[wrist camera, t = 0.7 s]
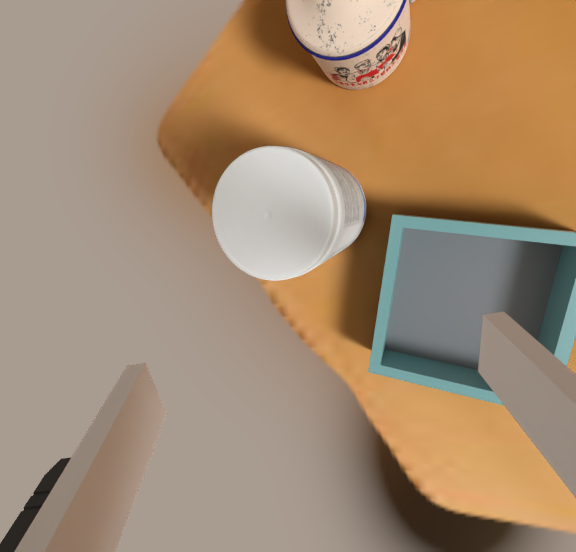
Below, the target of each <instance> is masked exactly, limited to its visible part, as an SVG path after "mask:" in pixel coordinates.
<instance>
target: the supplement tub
mask: <svg viewBox="0 0 576 552" xmlns="http://www.w3.org/2000/svg"><path fill="white" fill-rule="evenodd" d="M365 218H366V199H365V195H364V192H363V190H362V187H361V185H360V184H359V182H358V181H357V179H356V178H355V177H354V176H353V175H352V174H351V173H350V172H349V171H347V170H346V169H344V168H342V167H340V166H338V165H336V164H333V163H331V162H329V161H326V160H324V159H321V158H319V157H317V156H314V155H312V154H309V153H307V152H304V151H302V150H299V149H296V148H291V147H282V146H264V147H258V148H255V149H252V150H249V151H247V152H245V153H244V154H242V155H240V156H239V157H237V158H236V159H235V160H234V161H233V162H232V163H231V164H230V165H229V166H228V167H227V168H226V170H225V171H224V172H223V174H222V176H221V177H220V179H219V181H218V183H217V186H216V189H215V192H214V196H213V202H212V221H213V227H214V230H215V234H216V237H217V240H218V242H219V244H220V246H221V248H222V250H223V251H224V253H225V254H226V256H227V257H228V258H229V259H230V260H231V261H232V262H233V264H234V265H236V266H237V267H238V268H239V269H241V270H242V271H244V272H245V273H247V274H249V275H251V276H254V277H256V278H260V279H264V280H271V281H278V280H286V279H290V278H294V277H298V276H301V275H303V274H305V273H307V272H309V271H311V270H312V269H314V268H316V267H317V266H319V265H320V264H322V263H324V262H325V261H327V260H328V259H330V258H331V257H333V256H335V255H336V254H338V253H339V252H341V251H343V250H344V249H346V248H347V247H348V246H349V245H351V244H352V243H353V242H354V241H355V240H356V238H357V237H358V236H359V234H360V232H361V230H362V228H363V226H364V223H365Z"/></svg>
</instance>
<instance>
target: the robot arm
mask: <svg viewBox="0 0 576 552" xmlns="http://www.w3.org/2000/svg"><path fill="white" fill-rule="evenodd" d="M478 372H479V373H480V375H481V376H482V377H483V379H484V380H485V381H486V383H487V384H488V385H489V386H490V388H491V389H492V390H493V392H494V393H495V394H496V395H497V397H498V398H499V399H500V401H501V402H502V403H503V405H504V406H505V407H506V408H507V410H508V411H509V412H510V414H511V415H512V416H513V417H514V419H515V420H516V421H517V423H518V424H519V425H520V427H521V428H522V429H523V430H524V432H525V433H526V434H527V436H528V437H529V438H530V439H531V441H532V442H533V443H534V445H535V446H536V447H537V449H538V450H539V451H540V452H541V454H542V455H543V456H544V458H545V459H546V460H547V462H548V463H549V464H550V465H551V467H552V468H553V469H554V471H555V472H556V473H557V474H558V476H559V477H560V478H561V480H562V481H563V482H564V484H565V485H566V486H567V487H568V489H569V490H570V491H571V493H572V494H573V495H574V496H575V498H576V374H575V373H573V372H572V371H571V370H570V369H569V368H568V367H567V366H566V365H564V364H563V363H562V362H561V361H560V360H559V359H558V358H556V357H555V356H554V355H553V354H552V353H551V352H550V351H548V350H547V349H546V348H545V347H544V346H543V345H542V344H540V343H539V342H538V341H537V340H536V339H535V338H534V337H532V336H531V335H530V334H529V333H528V332H527V331H526V330H525V329H523V328H522V327H521V326H520V325H519V324H518V323H517V322H515V321H514V320H513V319H512V318H511V317H510V316H509V315H507V314H506V313H505V312H497V313H490V314H483V323H482V334H481V344H480V355H479V365H478ZM166 415H167V413H166V411H165V408H164V406H163V403H162V401H161V399H160V396H159V394H158V391H157V389H156V387H155V384H154V382H153V379H152V377H151V375H150V372H149V370H148V367H147V365H146V363H143V364H136V365H129V366H126V368H125V370H124V371H123V373H122V375H121V376H120V378H119V380H118V381H117V383H116V385H115V386H114V388H113V390H112V391H111V393H110V395H109V396H108V398H107V400H106V401H105V403H104V404H103V406H102V408H101V409H100V411H99V413H98V415H97V416H96V418H95V419H94V421H93V423H92V424H91V426H90V428H89V429H88V431H87V433H86V434H85V436H84V438H83V439H82V441H81V442H80V444H79V446H78V447H77V449H76V451H75V452H74V454H73V456H72V457H71V458H66V459H61V460H60V461H59V462H58V463H57V464H56V465H55V466H54V467H53V468H52V469H51V470H50V471H49V472H48V473H47V474H46V475H45V476H44V477H43V479H42V481H41V482H40V484H39V485H38V487H37V488H36V490H35V491H34V495H33V496H31V497H30V499H29V500H28V502H27V503H26V505H25V507H24V511H22V512H21V513H20V514H19V516H18V517H17V519H16V520H15V522H14V524H13V525H12V527H11V528H10V530H9V531H8V533H7V534H6V536H5V538H4V539H3V540H2V542H1V544H0V552H115V551H116V548H117V546H118V543H119V540H120V538H121V535H122V532H123V530H124V527H125V524H126V522H127V519H128V516H129V514H130V511H131V508H132V506H133V503H134V500H135V498H136V495H137V492H138V490H139V487H140V484H141V482H142V479H143V476H144V474H145V471H146V468H147V466H148V463H149V460H150V458H151V455H152V452H153V450H154V447H155V444H156V442H157V439H158V436H159V434H160V431H161V428H162V426H163V423H164V420H165V418H166Z"/></svg>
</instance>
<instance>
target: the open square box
mask: <svg viewBox="0 0 576 552" xmlns="http://www.w3.org/2000/svg"><path fill="white" fill-rule="evenodd" d="M497 312H505V313H506V314H507V315H509V316H510V317H511V318H512V319H513V320H514V321H515V322H517V323H518V324H519V325H520V326H521V327H522V328H523V329H525V330H526V331H527V332H528V333H529V334H530V335H531V336H532V337H534V338H535V339H536V340H537V341H538V342H539V343H540V344H542V345H543V346H544V347H545V348H546V349H547V350H548V351H550V352H551V353H552V354H553V355H554V356H555V357H556V358H558V359H559V360H560V361H561V362H562V363H563V364H564V365H566V366H567V364H568V360H569V357H570V353H571V350H572V346H573V343H574V340H575V336H576V231H568V230H558V229H548V228H537V227H527V226H517V225H506V224H496V223H486V222H475V221H465V220H455V219H445V218H434V217H424V216H414V215H403V214H393V215H392V220H391V227H390V233H389V240H388V246H387V253H386V259H385V266H384V273H383V279H382V286H381V292H380V299H379V305H378V312H377V318H376V325H375V332H374V338H373V345H372V351H371V358H370V364H369V371H368V372H370V373H374V374H378V375H382V376H386V377H391V378H395V379H399V380H403V381H407V382H411V383H415V384H419V385H423V386H427V387H431V388H435V389H439V390H443V391H447V392H452V393H456V394H460V395H464V396H468V397H472V398H476V399H480V400H484V401H488V402H492V403H496V404H500V405H503V403H502V402H501V401H500V399H499V398H498V397H497V395H496V394H495V393H494V392H493V390H492V389H491V388H490V386H489V385H488V384H487V383H486V381H485V380H484V379H483V377H482V376H481V375H480V373H479V372H478V365H479V355H480V344H481V334H482V323H483V314H490V313H497Z"/></svg>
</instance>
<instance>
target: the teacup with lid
mask: <svg viewBox="0 0 576 552" xmlns="http://www.w3.org/2000/svg"><path fill="white" fill-rule="evenodd" d="M414 1H415V0H286V11H287V18H288V22H289V25H290V28H291V31H292V33H293V35H294V37H295V38H296V40H297V41H298V43H299V44H300V45H301V46H302V47H303V48H304V49H305V50H306V51H307V52H309V53H310V54H311V55H312V56H313V58H314V59H315V61H316V62H317V63H318V65H319V66H320V68H321V69H322V70H323V72H324V73H325V75H326V76H327V77H328V78H329V79H330V80H331V81H332V82H333V83H335V84H336V85H338V86H340V87H342V88H345V89H350V90H361V89H366V88H369V87H372V86H374V85H376V84H378V83H380V82H381V81H383V80H384V79H386V78H387V77H388V76H389V75H390V74H391V73H392V72H393V71H394V70H395V69H396V68H397V66H398V65H399V63H400V62H401V60H402V58H403V56H404V54H405V52H406V49H407V46H408V43H409V38H410V10H409V4H411V3H412V2H414Z"/></svg>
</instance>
